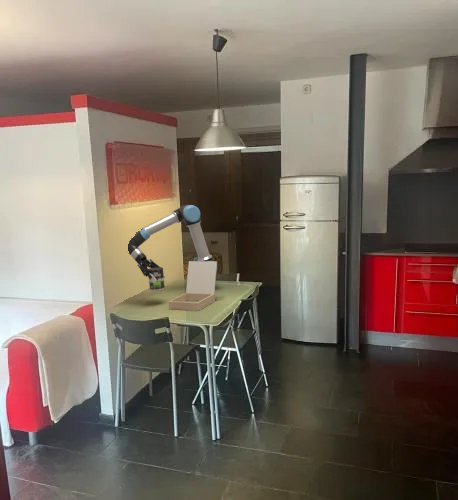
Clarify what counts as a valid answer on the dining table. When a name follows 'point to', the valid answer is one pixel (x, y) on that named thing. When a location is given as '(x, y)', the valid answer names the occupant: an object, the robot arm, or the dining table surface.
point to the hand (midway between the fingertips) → (160, 279)
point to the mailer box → (197, 286)
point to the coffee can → (159, 277)
